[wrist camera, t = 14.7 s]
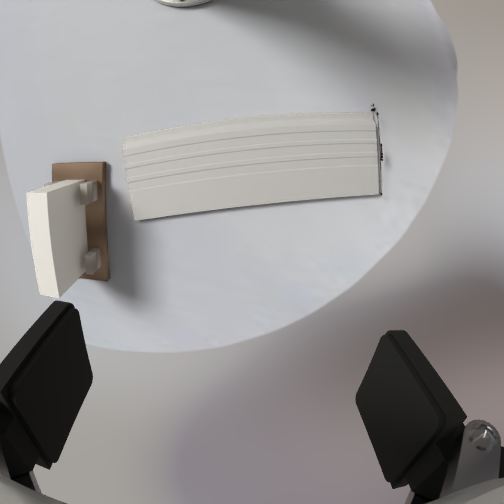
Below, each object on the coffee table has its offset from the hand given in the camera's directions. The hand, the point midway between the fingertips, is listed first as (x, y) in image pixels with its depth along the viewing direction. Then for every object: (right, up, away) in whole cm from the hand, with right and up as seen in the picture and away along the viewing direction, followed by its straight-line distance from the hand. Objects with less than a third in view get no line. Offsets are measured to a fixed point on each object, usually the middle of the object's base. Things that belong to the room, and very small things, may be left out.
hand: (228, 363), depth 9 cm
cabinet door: (-23, +7, +27) cm, 36 cm away
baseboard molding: (+1, +15, +27) cm, 31 cm away
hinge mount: (-22, +7, +28) cm, 37 cm away
